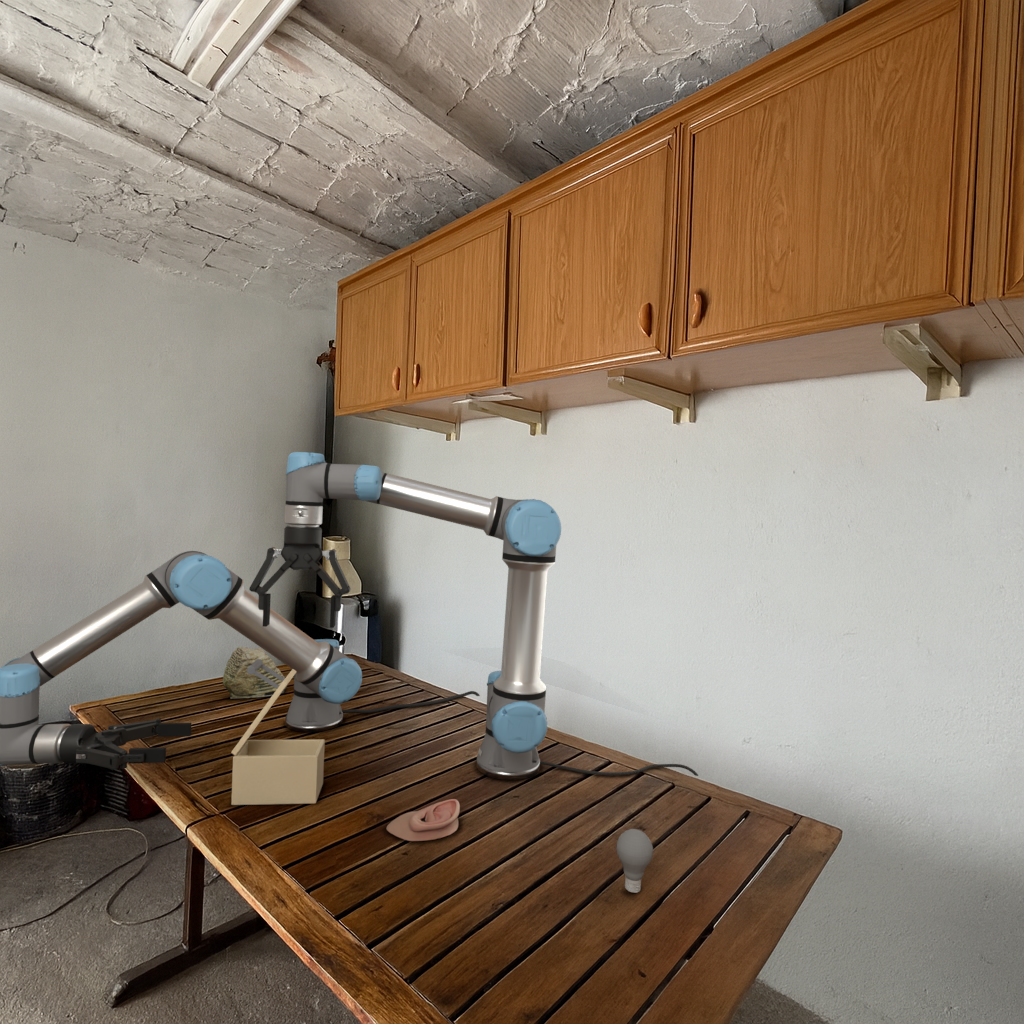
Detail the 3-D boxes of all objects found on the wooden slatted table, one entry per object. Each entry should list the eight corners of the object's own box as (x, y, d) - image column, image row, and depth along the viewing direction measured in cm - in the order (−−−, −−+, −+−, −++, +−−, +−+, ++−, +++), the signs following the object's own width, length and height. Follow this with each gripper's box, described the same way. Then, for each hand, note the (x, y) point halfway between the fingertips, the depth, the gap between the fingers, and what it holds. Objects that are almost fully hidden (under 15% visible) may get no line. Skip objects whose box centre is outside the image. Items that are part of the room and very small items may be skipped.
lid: (296, 671, 139) (264, 649, 138) (287, 683, 130) (252, 660, 128) (248, 738, 138) (214, 717, 137) (235, 755, 128) (199, 733, 127)
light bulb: (610, 879, 108) (613, 822, 108) (644, 879, 109) (647, 822, 109) (619, 902, 102) (622, 840, 102) (655, 901, 103) (658, 840, 103)
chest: (323, 783, 140) (324, 739, 140) (315, 803, 131) (317, 756, 131) (244, 784, 138) (245, 739, 138) (231, 805, 129) (232, 757, 128)
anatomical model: (380, 815, 119) (403, 788, 130) (379, 836, 119) (402, 808, 130) (448, 826, 116) (465, 797, 127) (447, 847, 116) (464, 817, 127)
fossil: (218, 695, 195) (220, 647, 195) (278, 685, 208) (279, 640, 207) (228, 703, 189) (230, 653, 188) (289, 692, 201) (290, 645, 201)
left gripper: (99, 738, 141) (199, 736, 144) (29, 790, 116) (152, 787, 119) (99, 704, 141) (200, 703, 144) (29, 750, 116) (152, 747, 119)
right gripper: (236, 524, 128) (232, 628, 129) (361, 528, 132) (357, 630, 132) (246, 522, 136) (243, 621, 136) (365, 527, 139) (361, 623, 139)
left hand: (178, 741), depth 131 cm, fingers open, 13 cm apart
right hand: (299, 626), depth 134 cm, fingers open, 13 cm apart
